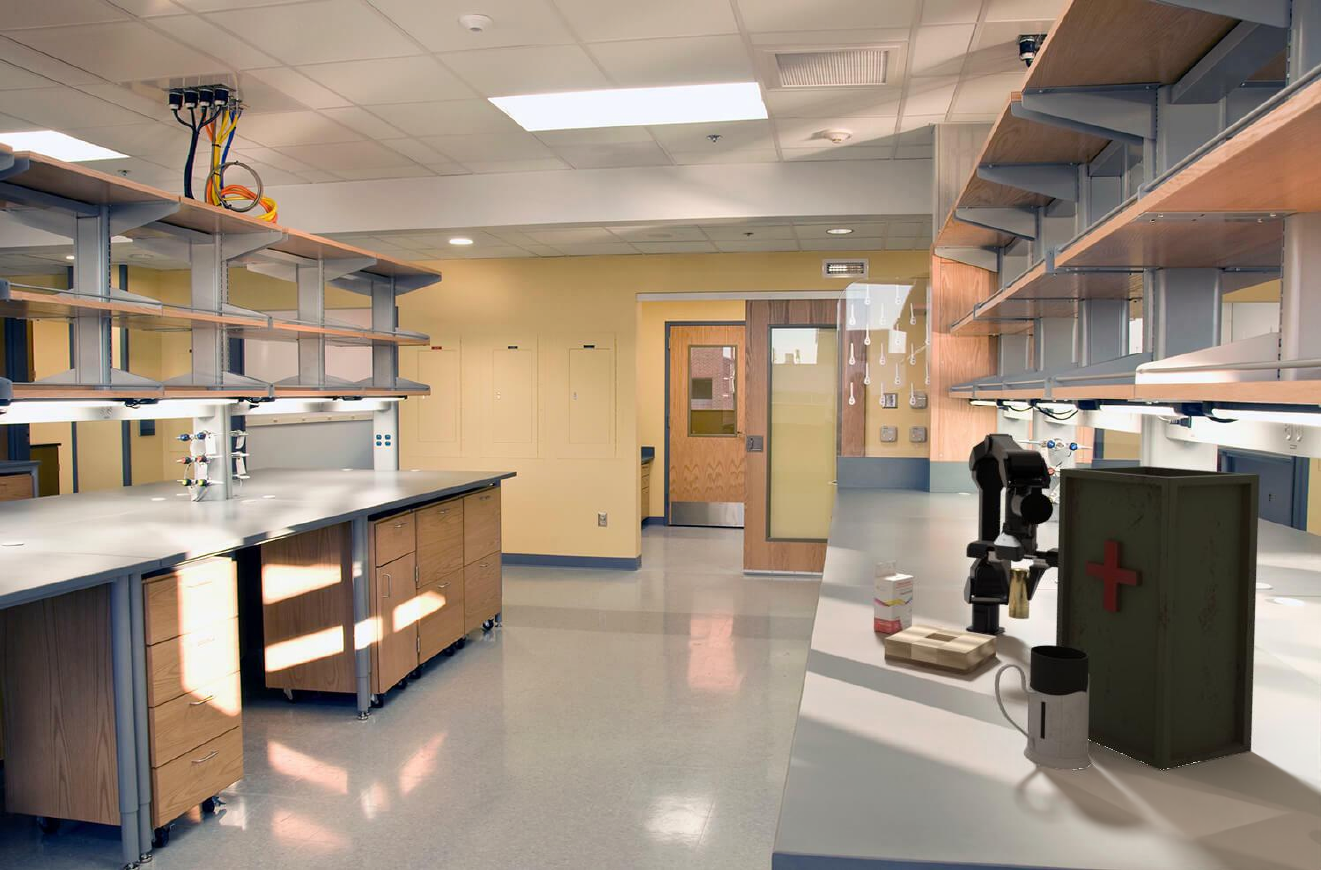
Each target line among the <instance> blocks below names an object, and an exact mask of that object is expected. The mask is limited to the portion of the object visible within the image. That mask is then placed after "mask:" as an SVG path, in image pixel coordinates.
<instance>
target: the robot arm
mask: <svg viewBox="0 0 1321 870" xmlns="http://www.w3.org/2000/svg"><path fill="white" fill-rule="evenodd" d="M968 468H969V472H971V479H972V481H973V483H974V485H975V486H976V488H977V489H978V526H977V527H978V528H977V529H978V532H977V533H978V534H977V535H978V536H977V537H978V538H977V540H974V541H972V542H969V543H968V544H967V547H966V558H971V559H975V560H974V561H973V562H972V565H971V566H970V567H969V576H967V578H966V582H965V585H964V588H963V597H964V598H963V599H964V601H965V602H966V603H967V604H968V605H971V625H969V626H967V627H965V631H967V632H973V633H979V634H985V635H991V636H996V635H998V634H1000V633H1001V632H1003V631H1005V629H1006V627H1004V626H1000V613H1001V611H1000V610H1001V609H1000V606H1003V605H1004V606H1009V580H1010V569H1011V568H1012V562H1014V563H1020V562H1022V561H1023V560H1029V561H1032V562H1033V564H1031V565H1029V566H1028V570H1029V571H1030V577H1029V586H1028V600H1029V602H1030V601H1032V600H1033V597H1034V595H1035V593H1036V591H1037V588H1038V586H1039V584H1040V581H1041V579H1042V578H1043V576H1044V574H1045V573H1046V571H1047V570H1049V569H1051V568H1055V569H1056V568H1057V569H1058V547H1053V548H1050V549H1048V550H1047V551H1045V550H1043V551H1042V550H1037V549H1039V544H1038V541H1037V538H1038V537H1037V535H1038V533H1037V532H1038V528H1039V525H1043V524H1044V523H1046V522H1048V521H1049V520H1050V519H1051V518H1052V515H1053V512H1054V505H1053V502H1052V500H1051V498H1049V497H1048V496H1047V495H1046V494H1044V493H1043V490H1049V489H1050V488H1051V487H1050V486H1051V482H1052V479H1051V476H1050V475H1051V474H1050V471H1049V467H1048V464H1047V463H1046V459H1045V458H1044V457H1043V456H1042V454H1041V452H1040V451H1039V450H1038V451H1037V450H1033V449H1024V448H1023V447H1021V446H1020V445H1019V443H1017V442H1016V441H1015V440H1014V438H1013V435H1012V434H1009V433H989V434H986V435H985V436H984V439H983V440H982V441H981V442H979V443H977V444H976V445H974V446H973V447H972V449H971V452H970V455H969V457H968ZM1004 488H1005V493H1004V494H1005V496H1004V497H1005V498H1004V522H1002V526H1001V518H1002V517H1001V514H1002V513H1001V509H1002V508H1001V505H1002V498H1001V497H1002V491H1003V489H1004ZM1001 527H1002V528H1001ZM1001 529H1002V530H1001Z"/></svg>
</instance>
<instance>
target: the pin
mask: <svg viewBox="0 0 1321 870" xmlns="http://www.w3.org/2000/svg"><path fill="white" fill-rule="evenodd" d="M1029 577H1030V571H1029V568H1022V567H1011V569H1010V580H1009V604H1008V617H1009V618H1012V619H1017V620H1027V619H1029V618H1030V601H1029V600H1028V586H1029Z"/></svg>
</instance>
